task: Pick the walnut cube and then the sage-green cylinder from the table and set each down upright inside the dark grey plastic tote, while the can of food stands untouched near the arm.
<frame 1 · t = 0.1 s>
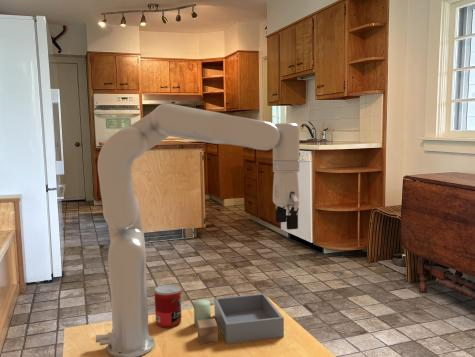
hand: (286, 225, 126), 31 cm above the table, tool pointing down, fingers open, 9 cm apart
canned food: (168, 323, 135), on the table
cube: (207, 340, 123), on the table
cylinder: (202, 324, 133), on the table
tote: (247, 325, 132), on the table
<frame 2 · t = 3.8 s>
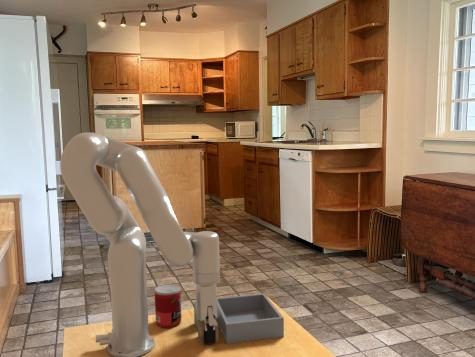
hand: (208, 337, 123), 0 cm above the table, tool pointing down, fingers closed on cube, 5 cm apart
cube: (208, 339, 123), on the table, touching gripper
everything else where it was.
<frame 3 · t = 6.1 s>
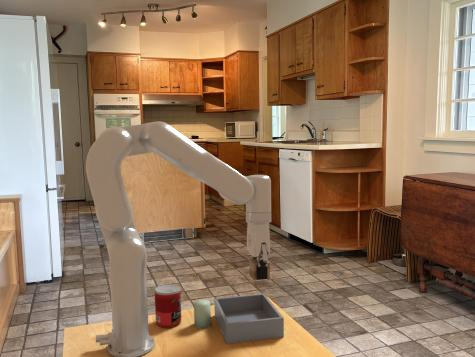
hand: (259, 275, 131), 15 cm above the table, tool pointing down, fingers closed on cube, 5 cm apart
cube: (259, 276, 131), point 15 cm above the table, touching gripper
everything else where it was.
when the fingers open (2 cm above the table, at t = 8.8 s): cube drops 1 cm, resting on tote.
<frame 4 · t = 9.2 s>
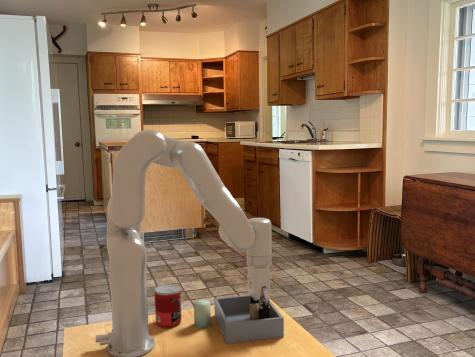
hand: (259, 314, 132), 3 cm above the table, tool pointing down, fingers open, 9 cm apart
cube: (259, 322, 133), point 1 cm above the table, touching tote
everything else where it was.
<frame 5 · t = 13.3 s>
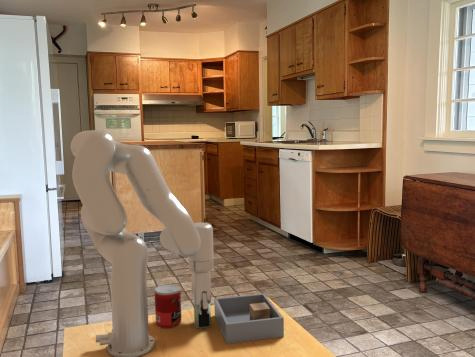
hand: (202, 321, 133), 1 cm above the table, tool pointing down, fingers closed on cylinder, 5 cm apart
cylinder: (202, 324, 133), on the table, touching gripper
everything else where it was.
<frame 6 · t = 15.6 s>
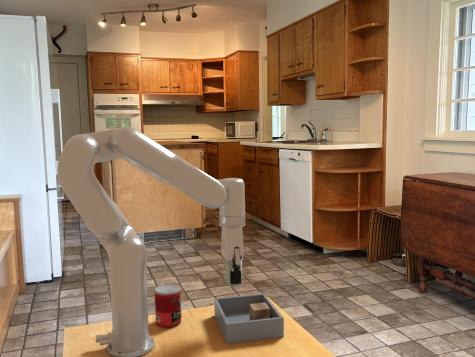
hand: (233, 280, 130), 15 cm above the table, tool pointing down, fingers closed on cylinder, 5 cm apart
cylinder: (233, 283, 130), point 14 cm above the table, touching gripper
everything else where it was.
when the fingers open (3 cm above the table, at t = 18.0 s): cylinder moves 1 cm, resting on tote.
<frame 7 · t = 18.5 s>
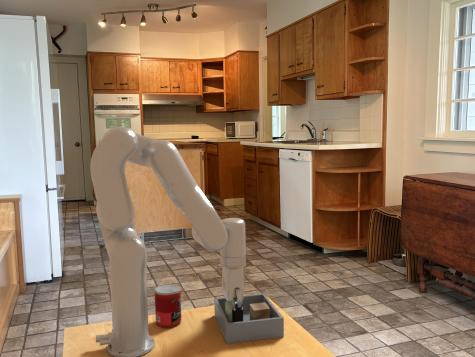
hand: (234, 315, 131), 3 cm above the table, tool pointing down, fingers open, 9 cm apart
cylinder: (234, 324, 131), point 1 cm above the table, touching tote
everything else where it was.
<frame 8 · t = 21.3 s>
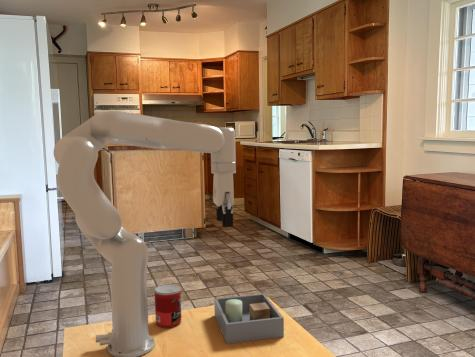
hand: (224, 223, 134), 30 cm above the table, tool pointing down, fingers open, 9 cm apart
nothing on the table moved.
at the end: cylinder inside the target area on the tote (4.0 cm from its centre), point 0.6 cm above the tote's base; cube inside the target area on the tote (4.0 cm from its centre), point 0.6 cm above the tote's base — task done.
